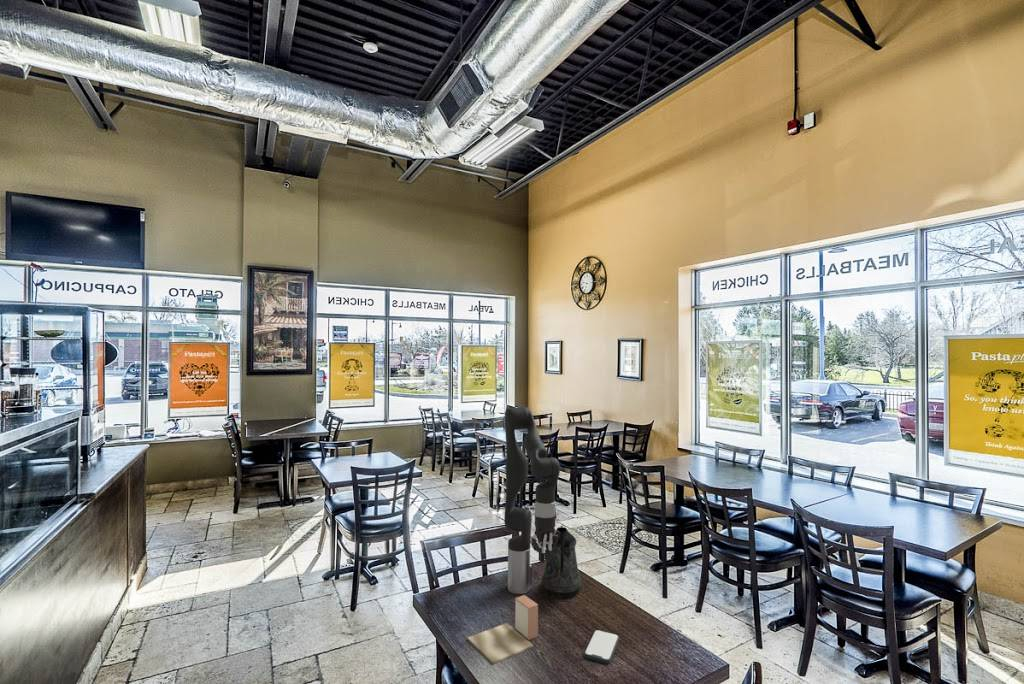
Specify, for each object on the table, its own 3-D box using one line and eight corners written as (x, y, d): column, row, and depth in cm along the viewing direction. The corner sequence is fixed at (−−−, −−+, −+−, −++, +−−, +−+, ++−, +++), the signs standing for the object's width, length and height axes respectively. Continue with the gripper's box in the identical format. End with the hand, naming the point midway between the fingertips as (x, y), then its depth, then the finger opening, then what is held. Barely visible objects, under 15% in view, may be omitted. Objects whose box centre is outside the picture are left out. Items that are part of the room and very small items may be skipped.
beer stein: (563, 575, 216) (564, 518, 216) (594, 594, 200) (595, 532, 200) (533, 585, 206) (534, 526, 207) (563, 606, 190) (564, 541, 191)
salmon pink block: (524, 625, 177) (524, 594, 177) (537, 636, 170) (538, 604, 170) (514, 629, 174) (515, 598, 174) (528, 640, 168) (528, 608, 168)
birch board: (506, 624, 177) (506, 622, 177) (533, 647, 164) (533, 645, 164) (467, 639, 168) (467, 637, 168) (492, 664, 155) (492, 662, 155)
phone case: (594, 633, 173) (582, 658, 159) (594, 628, 173) (582, 653, 159) (620, 639, 170) (610, 666, 155) (620, 635, 170) (610, 660, 155)
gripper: (553, 507, 184) (552, 553, 184) (523, 513, 176) (523, 562, 176) (566, 512, 178) (566, 560, 178) (536, 520, 170) (535, 570, 170)
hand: (544, 561), depth 177 cm, fingers closed
